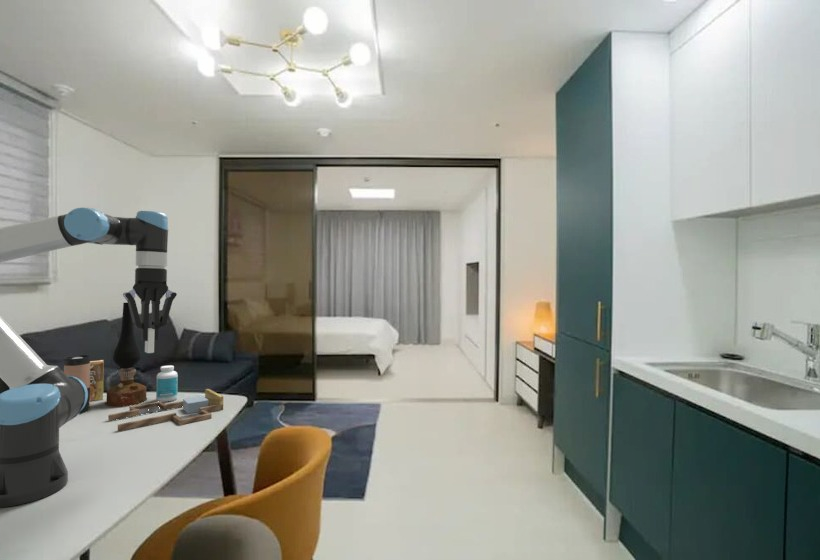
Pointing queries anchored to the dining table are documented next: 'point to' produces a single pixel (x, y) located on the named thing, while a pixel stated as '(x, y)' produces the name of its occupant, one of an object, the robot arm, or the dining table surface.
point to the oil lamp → (126, 367)
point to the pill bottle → (167, 384)
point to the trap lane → (203, 414)
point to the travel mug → (79, 372)
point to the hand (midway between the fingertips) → (149, 352)
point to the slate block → (194, 404)
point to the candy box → (96, 380)
